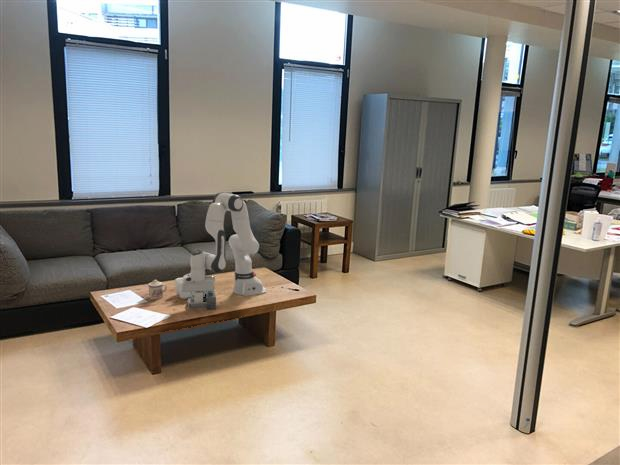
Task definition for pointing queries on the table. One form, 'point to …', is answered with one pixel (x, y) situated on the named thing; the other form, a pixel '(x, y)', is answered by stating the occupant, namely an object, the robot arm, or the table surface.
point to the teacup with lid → (156, 289)
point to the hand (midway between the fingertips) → (198, 297)
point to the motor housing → (208, 304)
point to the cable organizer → (179, 289)
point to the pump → (198, 296)
